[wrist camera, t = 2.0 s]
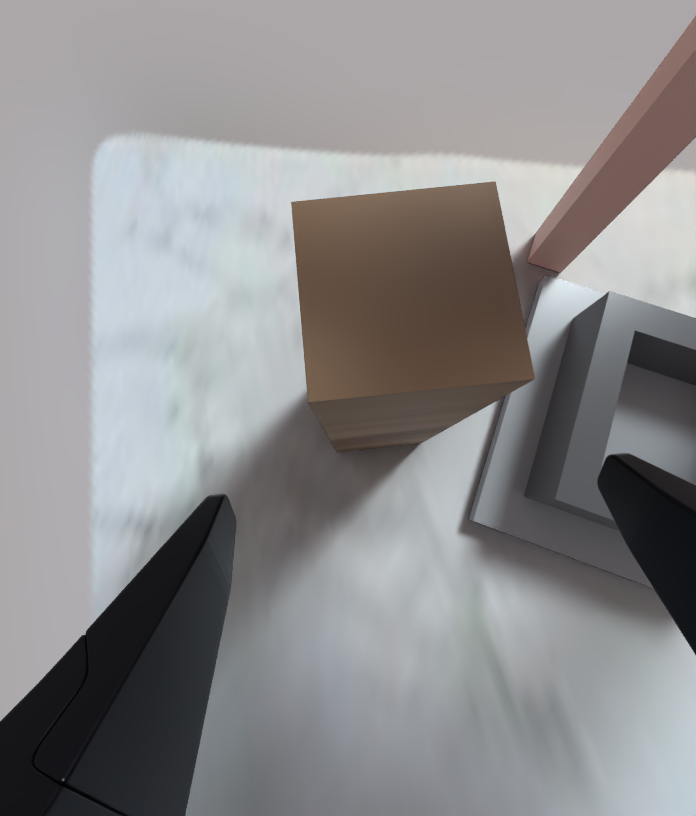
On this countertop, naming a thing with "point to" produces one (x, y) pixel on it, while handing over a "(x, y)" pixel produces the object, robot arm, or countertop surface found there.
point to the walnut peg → (407, 312)
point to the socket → (589, 420)
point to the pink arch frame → (625, 158)
